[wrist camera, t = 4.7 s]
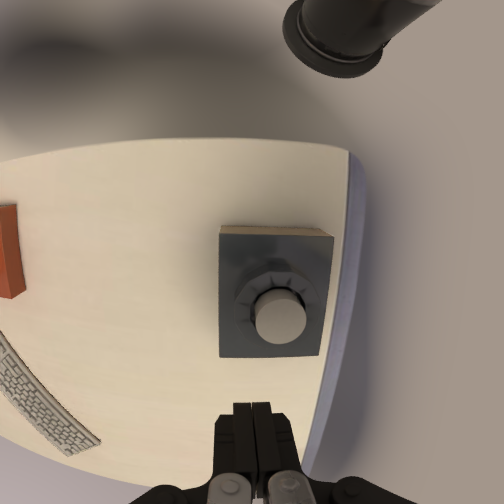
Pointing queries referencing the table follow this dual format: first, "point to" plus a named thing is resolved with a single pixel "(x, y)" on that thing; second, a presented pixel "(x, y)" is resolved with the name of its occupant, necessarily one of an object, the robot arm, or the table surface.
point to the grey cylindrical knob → (279, 316)
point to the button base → (10, 254)
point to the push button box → (271, 285)
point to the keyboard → (40, 405)
